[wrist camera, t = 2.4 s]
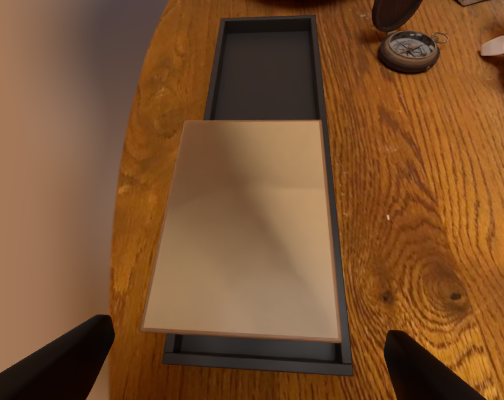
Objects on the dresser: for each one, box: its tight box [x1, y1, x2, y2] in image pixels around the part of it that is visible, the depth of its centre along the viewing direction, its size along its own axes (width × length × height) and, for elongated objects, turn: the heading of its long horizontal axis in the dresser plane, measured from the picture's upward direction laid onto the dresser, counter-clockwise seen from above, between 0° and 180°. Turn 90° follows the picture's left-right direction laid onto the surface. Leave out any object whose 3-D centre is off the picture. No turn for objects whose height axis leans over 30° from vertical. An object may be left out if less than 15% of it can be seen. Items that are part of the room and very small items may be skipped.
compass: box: [372, 0, 449, 73], centre depth 26 cm, size 8×8×7 cm
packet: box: [140, 120, 342, 343], centre depth 13 cm, size 7×5×12 cm
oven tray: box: [162, 15, 354, 376], centre depth 24 cm, size 35×11×2 cm, turn 177°
